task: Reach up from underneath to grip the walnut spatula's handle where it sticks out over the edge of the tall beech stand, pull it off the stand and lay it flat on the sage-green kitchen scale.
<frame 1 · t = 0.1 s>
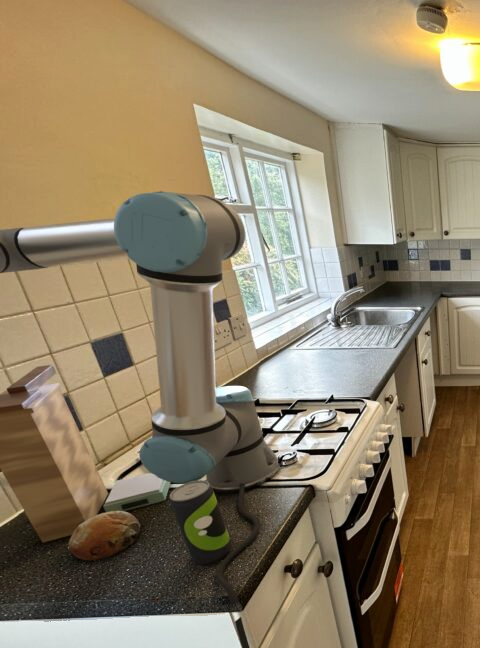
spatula: (27, 391, 81), point 28 cm above the countertop, touching stand
stand: (78, 516, 89), on the countertop
scale: (141, 495, 95), on the countertop
bread roll: (111, 543, 81), on the countertop
beverage can: (213, 554, 79), on the countertop
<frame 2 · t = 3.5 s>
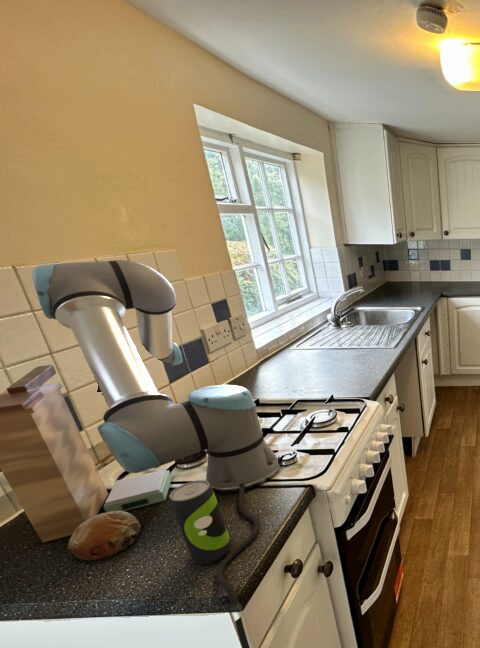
hand: (66, 381, 96), 24 cm above the countertop, tool pointing upward, fingers open, 13 cm apart
nothing on the countertop moved.
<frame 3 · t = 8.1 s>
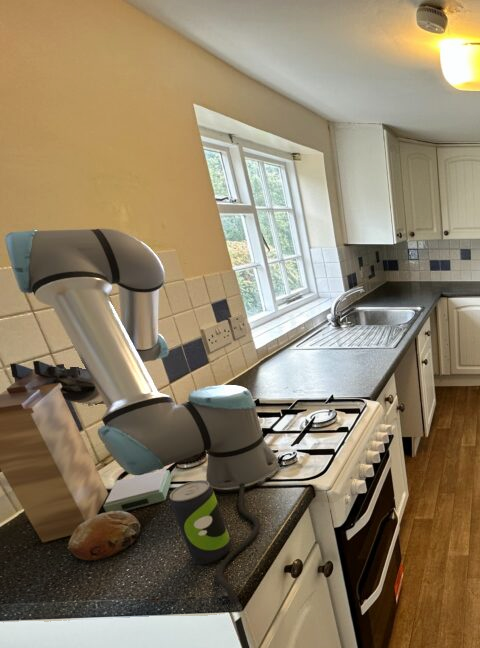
hand: (25, 368, 82), 32 cm above the countertop, tool pointing upward, fingers closed on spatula, 2 cm apart
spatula: (27, 391, 81), point 28 cm above the countertop, touching gripper, stand
everything else where it was.
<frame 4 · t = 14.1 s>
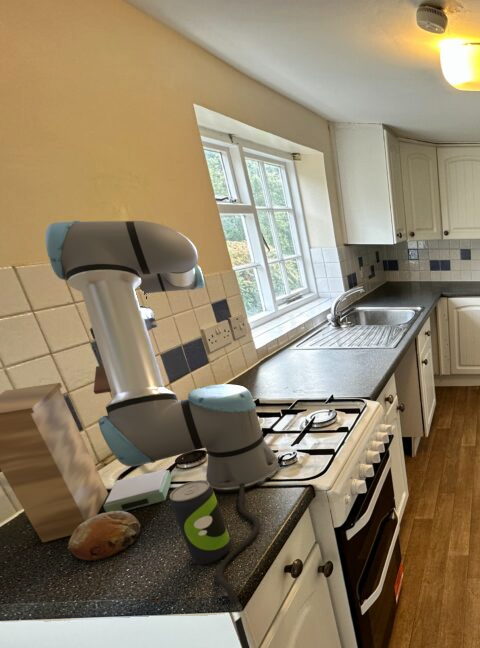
hand: (109, 337, 98), 33 cm above the countertop, tool horizontal, fingers closed on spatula, 2 cm apart
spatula: (115, 358, 99), point 28 cm above the countertop, tilted 28°, touching gripper
everything else where it was.
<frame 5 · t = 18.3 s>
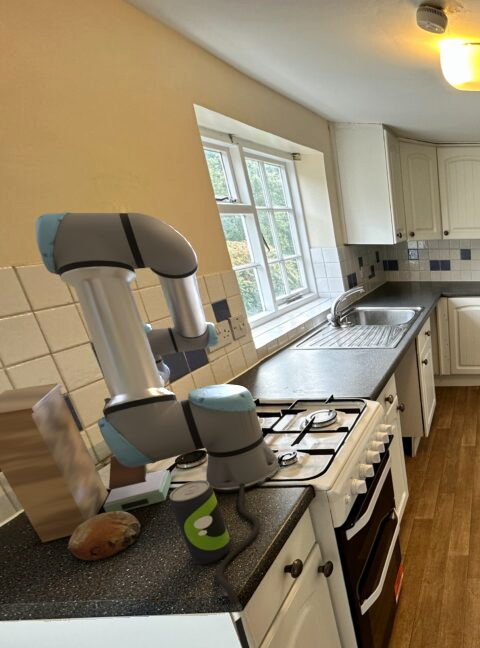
hand: (123, 424, 94), 16 cm above the countertop, tool horizontal, fingers closed on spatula, 2 cm apart
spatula: (130, 444, 95), point 11 cm above the countertop, tilted 30°, touching gripper
everything else where it was.
when the fingers open (6 cm above the countertop, at t = 21.9 s): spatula stays where it is, resting on scale.
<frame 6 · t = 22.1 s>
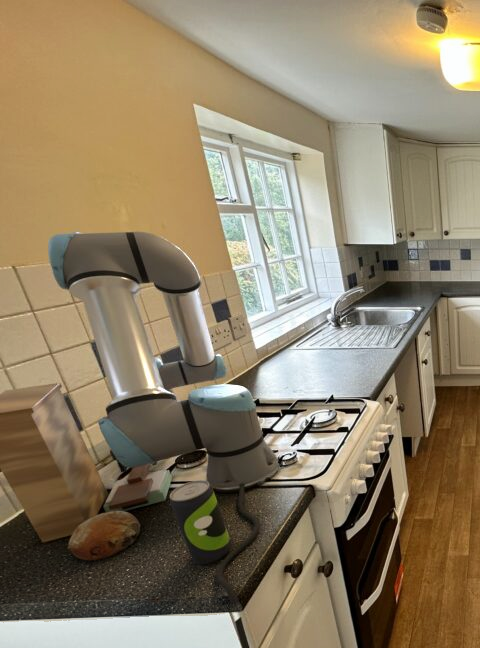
hand: (137, 463, 97), 6 cm above the countertop, tool horizontal, fingers open, 5 cm apart
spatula: (139, 478, 96), point 3 cm above the countertop, touching scale
everything else where it was.
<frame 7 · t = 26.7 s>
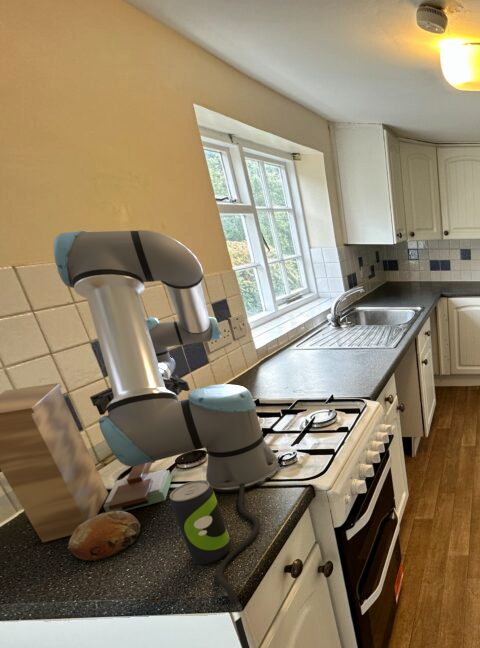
hand: (135, 403, 104), 16 cm above the countertop, tool horizontal, fingers open, 13 cm apart
nothing on the countertop moved.
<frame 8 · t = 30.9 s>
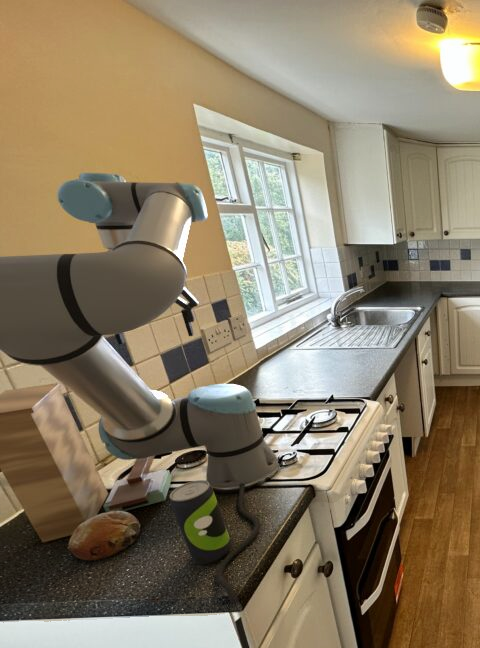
hand: (157, 338, 102), 32 cm above the countertop, tool pointing down, fingers open, 13 cm apart
nothing on the countertop moved.
at the end: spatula 0.6 cm from the target spot on the scale, point 3.0 cm above the scale's base; the gripper is holding nothing; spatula tilted 0° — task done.
